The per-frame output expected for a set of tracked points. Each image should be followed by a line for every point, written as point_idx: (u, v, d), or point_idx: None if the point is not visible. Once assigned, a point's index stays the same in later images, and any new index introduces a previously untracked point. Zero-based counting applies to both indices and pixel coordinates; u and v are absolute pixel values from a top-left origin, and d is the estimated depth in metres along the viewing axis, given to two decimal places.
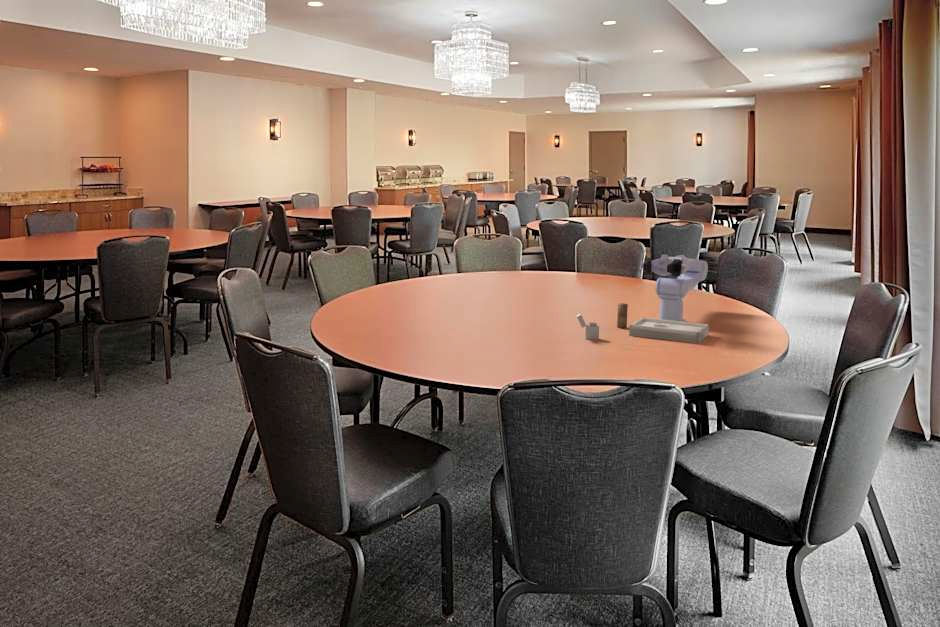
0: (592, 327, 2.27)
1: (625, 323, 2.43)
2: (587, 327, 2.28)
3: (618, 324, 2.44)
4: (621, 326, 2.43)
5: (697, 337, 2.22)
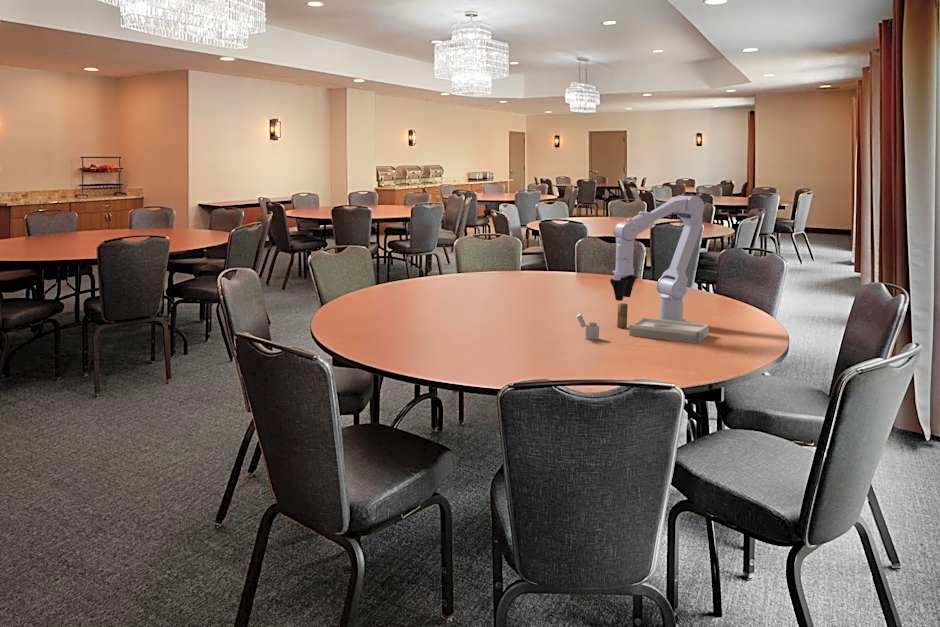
0: (592, 327, 2.27)
1: (625, 323, 2.43)
2: (587, 327, 2.28)
3: (618, 324, 2.44)
4: (621, 326, 2.43)
5: (697, 337, 2.22)
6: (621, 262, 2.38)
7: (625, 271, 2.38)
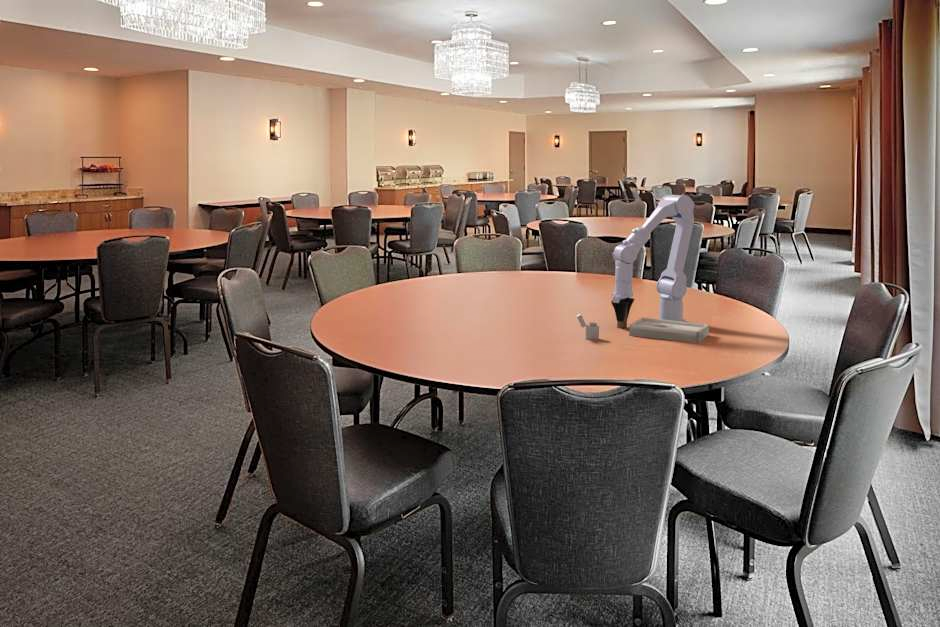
0: (592, 327, 2.27)
1: (625, 323, 2.43)
2: (587, 327, 2.28)
3: (618, 324, 2.44)
4: (621, 326, 2.43)
5: (697, 337, 2.22)
6: (620, 284, 2.39)
7: (624, 293, 2.40)
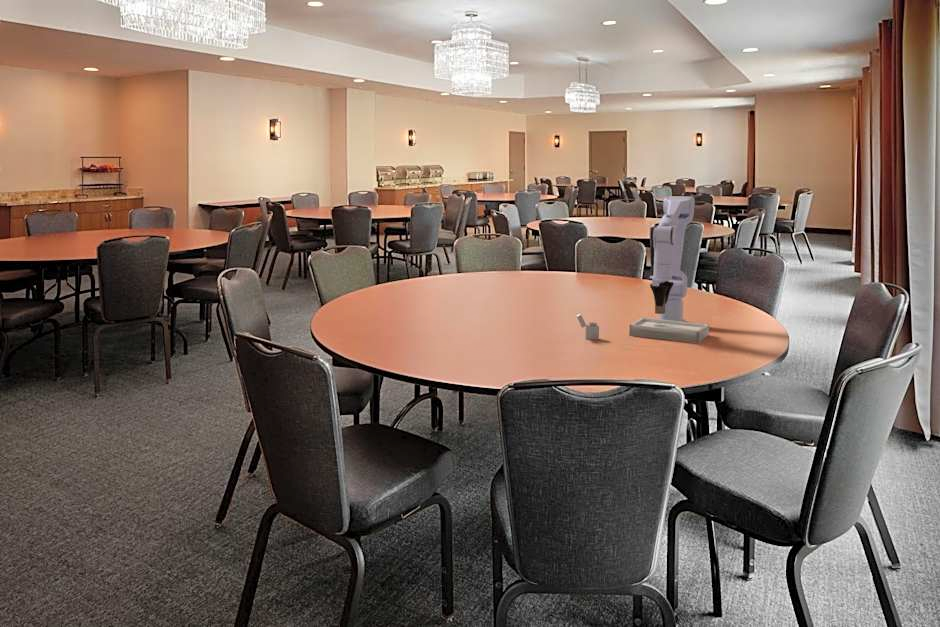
0: (592, 327, 2.27)
1: (663, 308, 2.33)
2: (587, 327, 2.28)
3: (656, 309, 2.34)
4: (659, 311, 2.33)
5: (697, 337, 2.22)
6: (660, 267, 2.29)
7: (664, 277, 2.29)
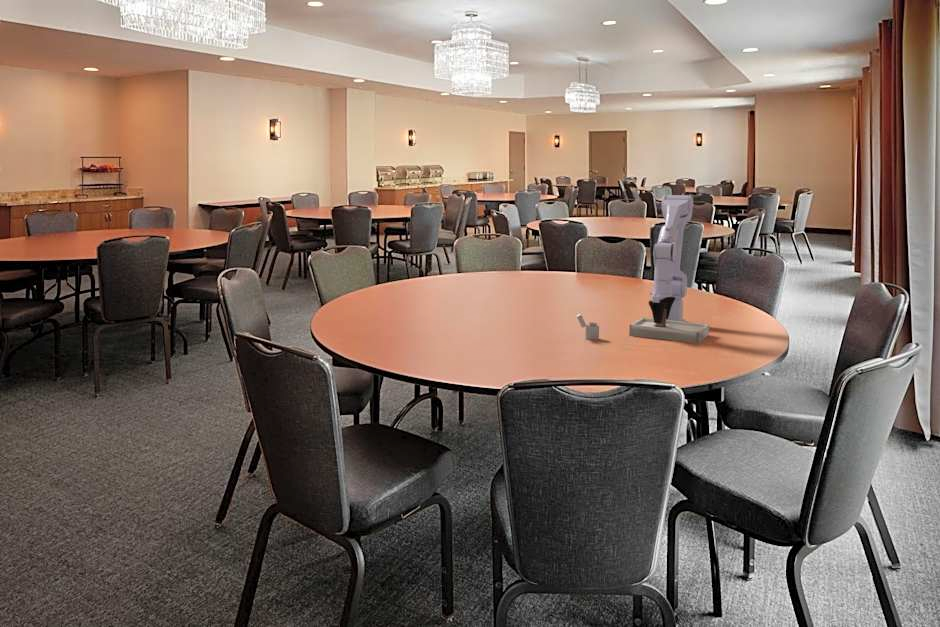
0: (592, 327, 2.27)
1: None
2: (587, 327, 2.28)
3: None
4: None
5: (697, 337, 2.22)
6: (660, 283, 2.30)
7: (664, 293, 2.30)
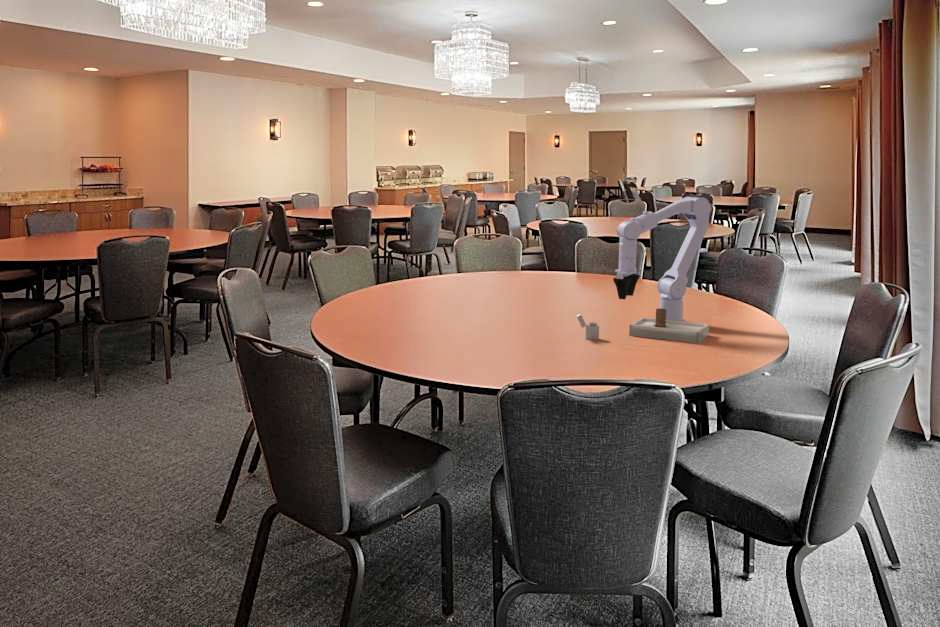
0: (592, 327, 2.27)
1: None
2: (587, 327, 2.28)
3: None
4: None
5: (697, 337, 2.22)
6: (624, 261, 2.40)
7: (628, 270, 2.40)
